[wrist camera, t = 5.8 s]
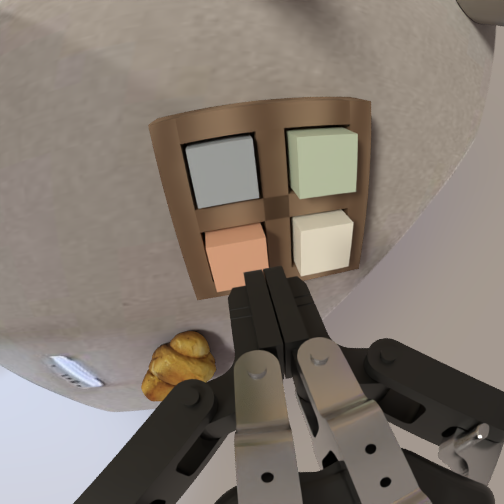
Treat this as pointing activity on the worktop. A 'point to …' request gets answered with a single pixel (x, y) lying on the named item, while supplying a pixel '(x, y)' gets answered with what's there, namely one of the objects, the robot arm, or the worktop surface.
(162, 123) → the keypad
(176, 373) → the bread roll
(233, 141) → the key slate
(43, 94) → the worktop surface
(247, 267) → the key terracotta
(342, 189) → the key sage
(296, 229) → the key cream
